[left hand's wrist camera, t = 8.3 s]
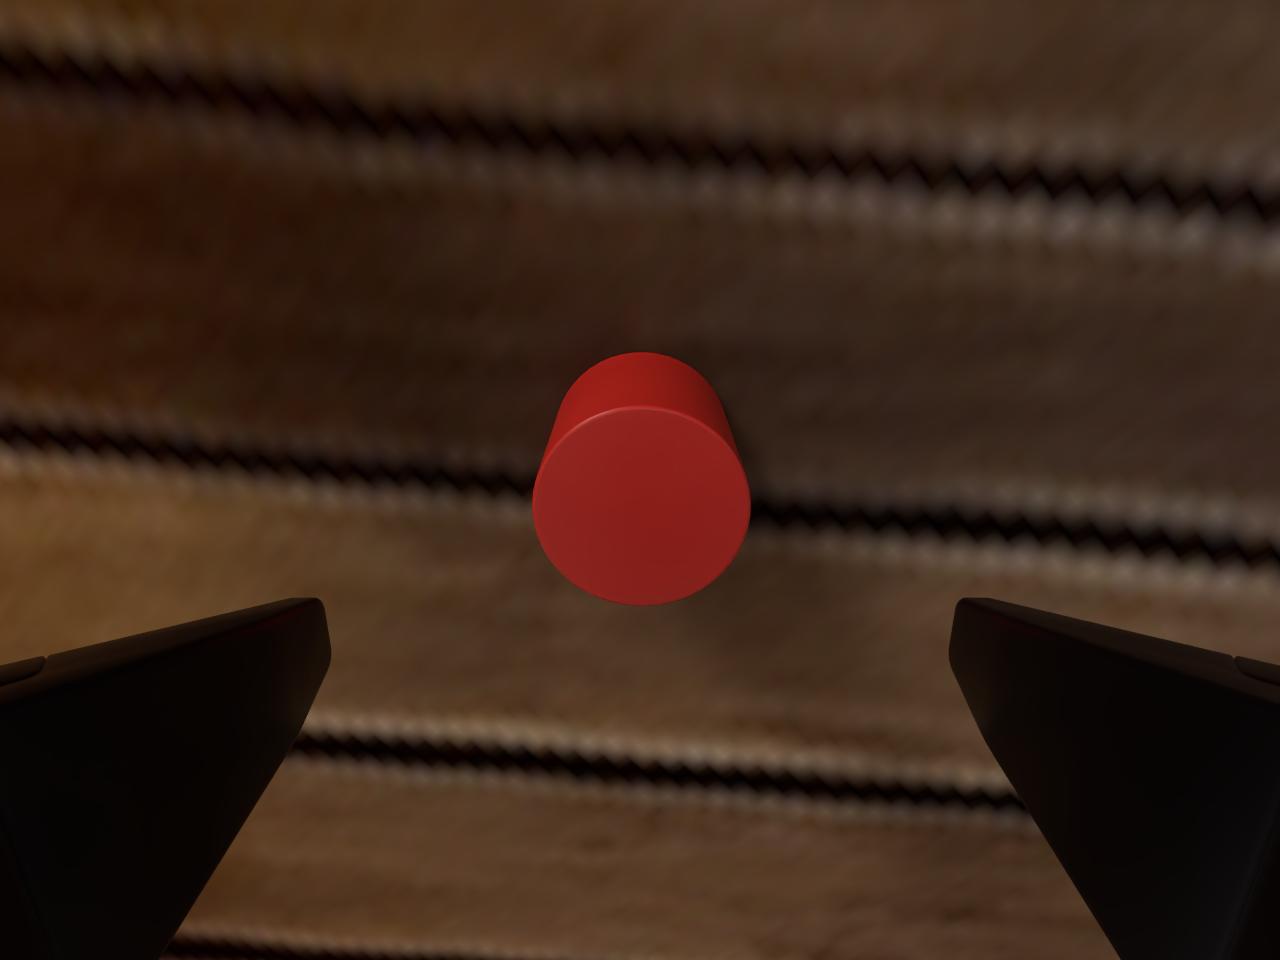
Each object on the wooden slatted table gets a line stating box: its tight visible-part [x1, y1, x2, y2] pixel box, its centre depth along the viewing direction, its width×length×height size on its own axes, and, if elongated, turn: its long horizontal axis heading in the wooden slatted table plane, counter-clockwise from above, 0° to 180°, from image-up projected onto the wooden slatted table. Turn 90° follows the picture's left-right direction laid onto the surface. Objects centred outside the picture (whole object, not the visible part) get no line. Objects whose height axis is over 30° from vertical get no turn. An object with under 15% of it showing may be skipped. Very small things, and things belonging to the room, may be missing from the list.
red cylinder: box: [532, 352, 751, 606], centre depth 17 cm, size 4×4×4 cm
